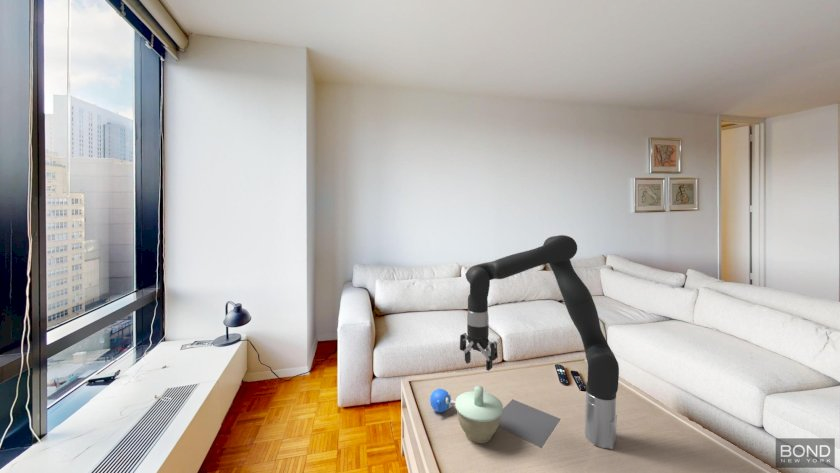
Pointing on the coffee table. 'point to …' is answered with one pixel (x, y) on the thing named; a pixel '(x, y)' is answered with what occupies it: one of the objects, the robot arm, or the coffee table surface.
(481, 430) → the planter bowl
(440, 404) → the blue mole toy
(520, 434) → the mat
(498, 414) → the lid
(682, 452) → the coffee table surface
